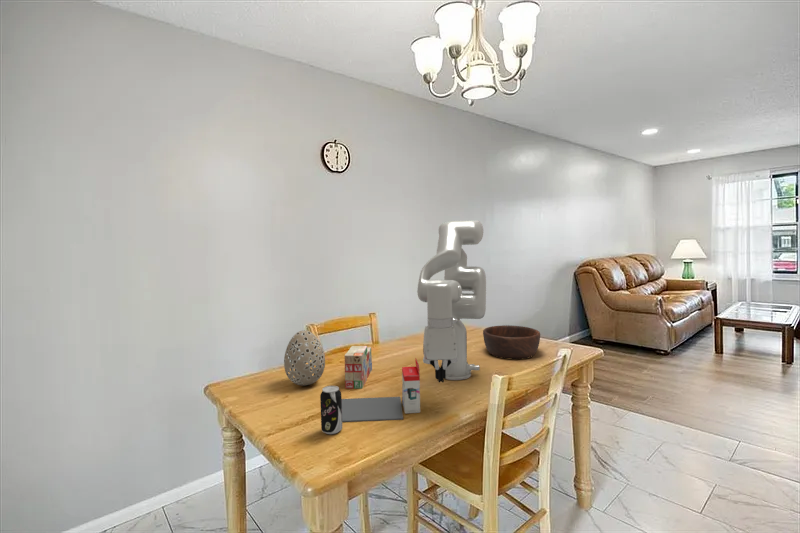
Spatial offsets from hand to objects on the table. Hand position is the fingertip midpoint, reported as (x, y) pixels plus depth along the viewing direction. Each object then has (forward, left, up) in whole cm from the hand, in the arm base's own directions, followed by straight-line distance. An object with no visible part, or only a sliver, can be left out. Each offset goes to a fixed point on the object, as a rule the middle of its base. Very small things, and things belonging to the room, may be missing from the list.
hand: (440, 380), depth 123 cm
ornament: (+46, -24, -8) cm, 53 cm away
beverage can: (+32, +13, -8) cm, 36 cm away
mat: (+22, 0, -8) cm, 24 cm away
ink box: (+9, 0, -8) cm, 13 cm away
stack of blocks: (+27, -29, -8) cm, 40 cm away
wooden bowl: (-41, -54, -8) cm, 68 cm away
